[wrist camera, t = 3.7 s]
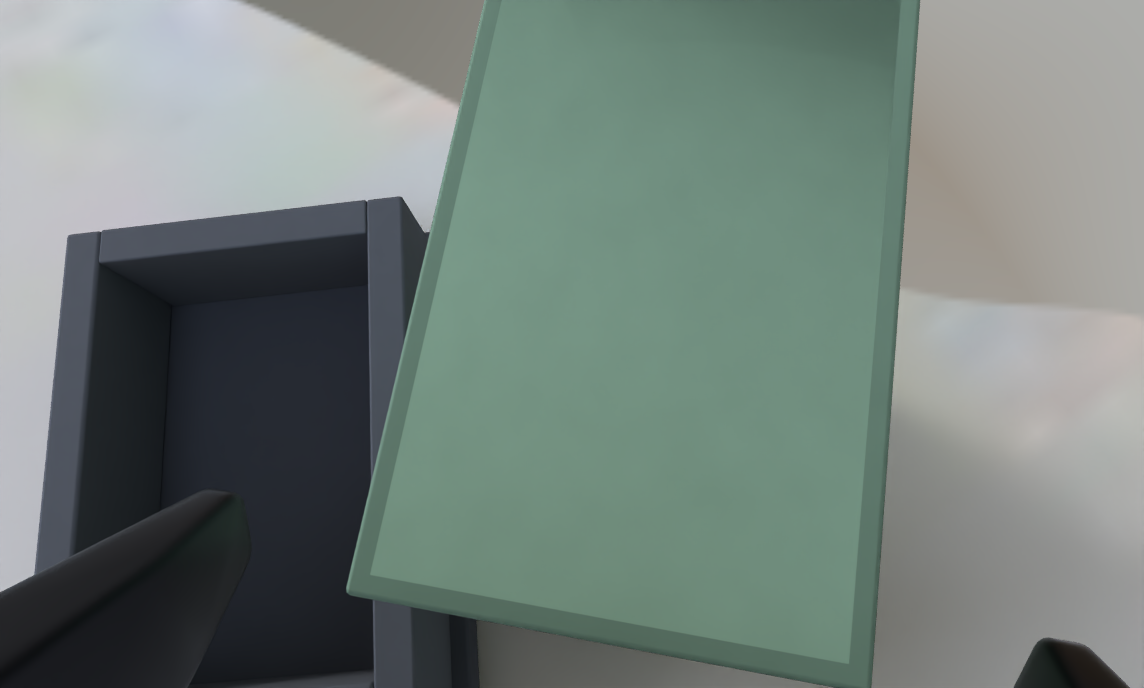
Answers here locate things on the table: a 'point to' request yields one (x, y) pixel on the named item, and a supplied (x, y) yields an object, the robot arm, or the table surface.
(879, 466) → the green box
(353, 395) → the dark grey open box
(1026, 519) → the table surface
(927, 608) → the table surface
